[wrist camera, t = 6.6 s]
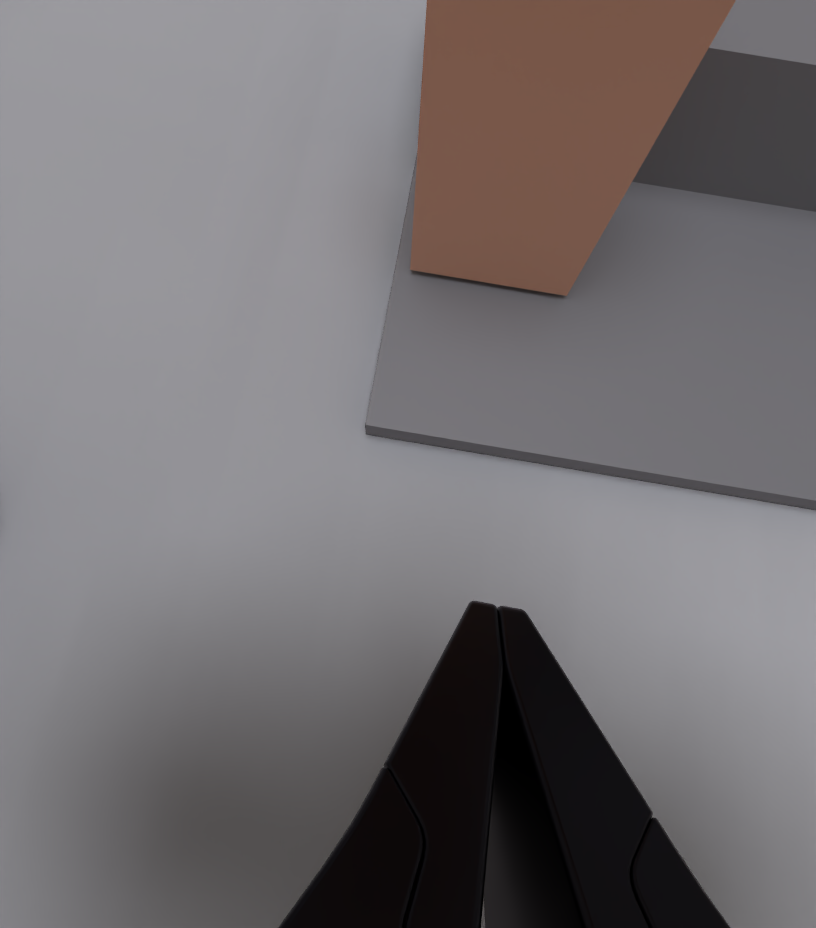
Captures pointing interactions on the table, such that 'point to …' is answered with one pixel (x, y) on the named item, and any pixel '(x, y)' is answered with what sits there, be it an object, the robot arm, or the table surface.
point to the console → (650, 303)
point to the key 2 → (542, 127)
